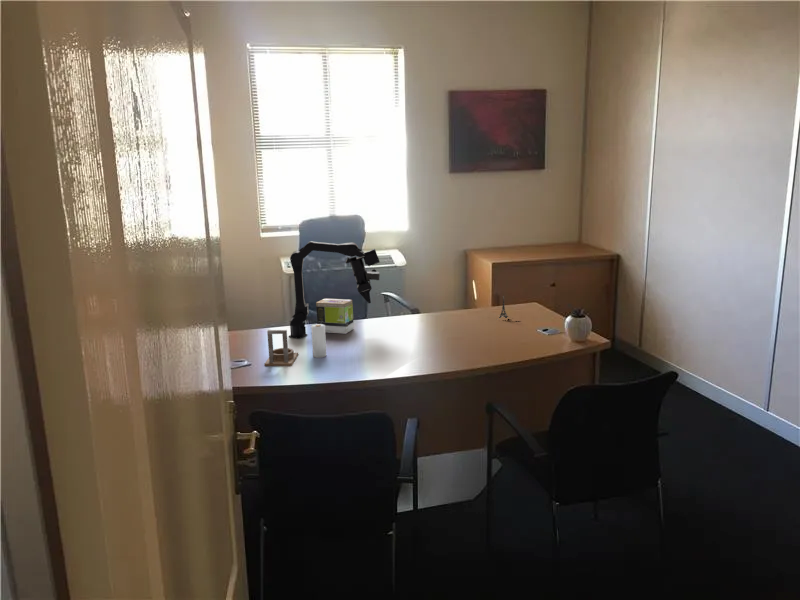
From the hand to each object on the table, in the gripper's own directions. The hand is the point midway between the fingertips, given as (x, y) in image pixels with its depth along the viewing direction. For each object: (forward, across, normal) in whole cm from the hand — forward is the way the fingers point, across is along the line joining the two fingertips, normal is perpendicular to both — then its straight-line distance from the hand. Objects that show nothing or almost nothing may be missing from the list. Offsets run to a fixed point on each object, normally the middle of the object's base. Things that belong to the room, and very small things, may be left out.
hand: (369, 300), depth 291 cm
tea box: (+11, +7, +20) cm, 24 cm away
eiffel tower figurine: (+35, +14, -61) cm, 71 cm away
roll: (+9, -30, +26) cm, 41 cm away
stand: (+4, -33, +41) cm, 53 cm away
